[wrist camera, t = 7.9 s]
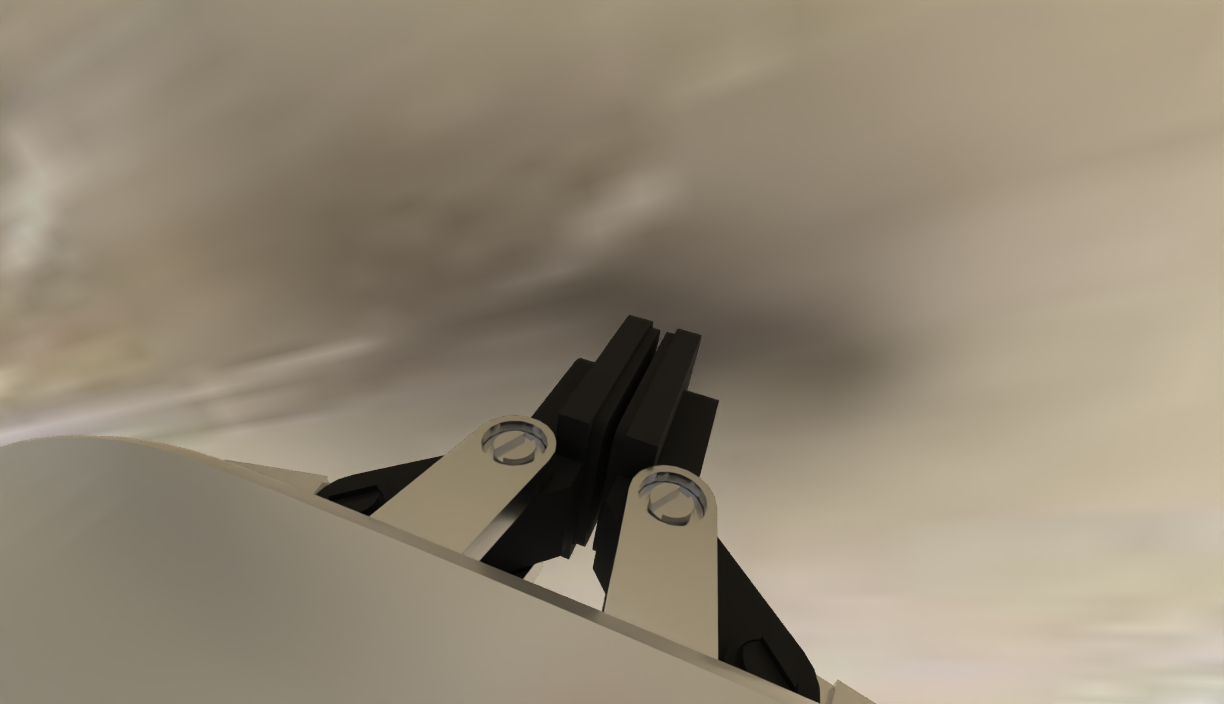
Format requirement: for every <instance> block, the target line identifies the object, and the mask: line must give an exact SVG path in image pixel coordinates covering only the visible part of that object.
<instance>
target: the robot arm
mask: <svg viewBox="0 0 1224 704" xmlns="http://www.w3.org/2000/svg"><path fill="white" fill-rule="evenodd" d="M659 335H660V330H658V329H654V328H653V321H649V320H646V319H642V318H639V317H635V316H631V315H629V316H628V317H627V318H626V320H625V321H624V322H623V324H622V325H621V327H620V328H619V329H618V331H617V332H616V334H615V335H614V336H613V338H612V339H611V341H610V342H609V343H608V345H607V346H606V348H605V349H604V350H603V352H602V353H601V355H600V356H599V357H598V359H597V360H596V362H592V361H588V360H585V359H582V358H579V359H577V360H576V361H575V362H574V364H573V365H572V366H571V367H570V369H569V370H568V371H567V373H566V374H565V375H564V376H563V378H562V379H561V380H560V381H559V383H558V384H557V385H556V387H555V388H554V389H553V390H552V392H551V393H550V394H549V395H548V397H547V398H546V399H545V401H544V402H543V403H542V404H541V406H540V407H539V408H538V409H537V411H536V412H535V413H534V415H533V416H532V417H531V418H530V417H527V416H518V415H511V416H502V417H499V418H495V419H492V420H490V421H488V422H487V423H485V424H483V425H482V426H480V427H479V428H478V429H477V430H475V431H474V432H473V433H472V434H471V435H469V436H468V437H467V438H466V439H464V440H463V441H462V442H461V443H459V444H458V445H457V446H456V447H454V448H453V449H452V450H451V451H450V452H448V453H447V454H446V455H444V456H439V457H434V458H430V459H425V460H420V461H415V462H411V463H406V464H401V465H397V466H392V467H387V468H383V469H378V470H373V471H368V472H364V473H359V474H354V475H351V476H347V477H344V478H341V479H338V480H336V481H334V482H332V483H329V482H328V477H327V476H324V475H317V474H311V473H305V472H299V471H293V470H286V469H280V468H274V467H268V466H261V465H255V464H249V463H243V462H236V461H230V460H221V459H218V458H215V457H212V456H209V455H206V454H203V453H199V452H196V451H193V450H189V449H185V448H180V447H176V446H172V445H168V444H164V443H159V442H153V441H146V440H139V439H132V438H126V437H113V436H86V435H79V436H56V437H46V438H36V439H30V440H25V441H20V442H16V443H12V444H9V445H6V446H3V447H0V704H876V703H874V702H872V701H871V700H869V699H868V698H866V697H865V696H863V695H861V694H860V693H858V692H857V691H855V690H853V689H852V688H850V687H849V686H847V685H846V684H844V683H842V682H841V681H839V680H837V681H836V682H835V684H834V685H831V684H830V683H828V682H827V681H825V680H824V679H822V678H821V677H819V676H817V675H816V673H815V670H814V668H813V666H812V665H811V663H810V661H809V660H808V658H807V656H806V655H805V653H804V651H803V650H802V649H801V647H800V646H799V645H798V643H797V642H796V641H795V639H794V638H793V637H792V635H791V634H790V633H789V631H788V630H787V629H786V627H785V626H784V625H783V623H782V622H781V621H780V619H779V618H778V617H777V615H776V614H775V613H774V611H773V610H772V609H771V607H770V606H769V605H768V603H767V602H766V601H765V599H764V598H763V597H762V595H761V594H760V593H759V591H758V590H757V589H756V587H755V586H754V585H753V583H752V582H751V581H750V579H749V578H748V577H747V575H746V574H745V573H744V571H743V570H742V569H741V567H740V566H739V565H738V564H737V562H736V561H735V560H734V558H733V557H732V556H731V554H730V553H729V552H728V550H727V549H726V548H725V546H724V545H723V544H722V542H721V541H720V540H719V538H718V537H717V505H716V500H715V496H714V495H713V493H712V491H711V490H710V488H709V486H708V485H707V484H706V483H705V482H704V481H702V480H701V479H700V478H699V477H700V473H701V469H702V465H703V461H704V457H705V453H706V450H707V446H708V442H709V438H710V434H711V430H712V426H713V422H714V418H715V414H716V410H717V406H718V402H719V400H716V399H713V398H710V397H706V396H703V395H700V394H697V393H693V392H690V391H687V389H688V385H689V381H690V378H691V374H692V370H693V367H694V363H695V359H696V356H697V352H698V348H699V345H700V341H701V336H702V335H699V334H696V333H692V332H688V331H685V330H681V329H677V331H676V333H675V334H672V333H669V332H667V333H666V334H665V336H664V338H663V340H662V342H661V344H660V346H659V348H658V350H657V352H656V349H657V345H658V340H659ZM596 523H597V527H596V532H595V537H594V543H593V550H594V551H596V554H595V559H594V565H593V570H594V572H595V574H596V576H597V578H598V580H599V582H600V584H601V586H602V588H603V590H604V592H605V597H604V602H603V607H602V611H599V610H597V609H594V608H592V607H590V606H587V605H585V604H582V603H580V602H577V601H575V600H572V599H570V598H568V597H565V596H563V595H560V594H558V593H555V592H553V591H551V590H548V589H546V588H543V587H541V586H538V585H536V584H534V583H533V582H534V581H535V579H536V578H537V577H538V575H539V573H540V571H541V569H542V567H543V561H546V560H549V559H552V558H555V557H558V556H562V557H564V558H567V559H569V558H570V556H571V554H572V552H573V550H574V548H575V546H576V544H579V545H581V546H584V547H585V546H586V544H587V542H588V540H589V538H590V536H591V534H592V531H593V529H594V527H595V525H596Z"/></svg>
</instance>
